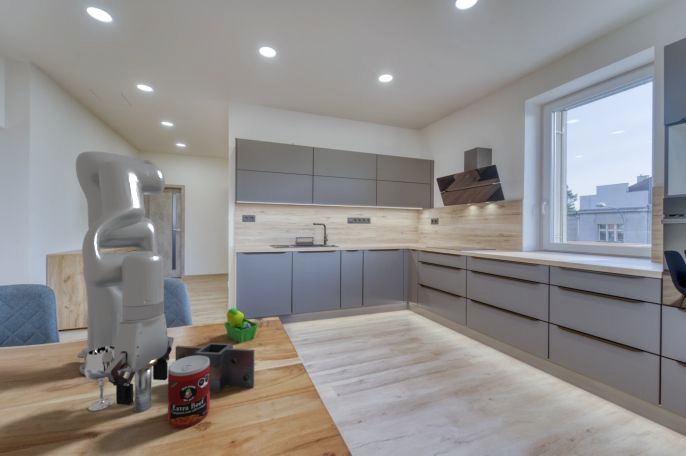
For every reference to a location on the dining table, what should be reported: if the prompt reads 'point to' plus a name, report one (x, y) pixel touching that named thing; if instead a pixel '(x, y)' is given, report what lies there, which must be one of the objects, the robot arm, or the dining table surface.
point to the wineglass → (99, 372)
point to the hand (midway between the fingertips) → (143, 390)
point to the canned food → (188, 391)
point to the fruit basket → (239, 326)
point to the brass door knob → (143, 387)
